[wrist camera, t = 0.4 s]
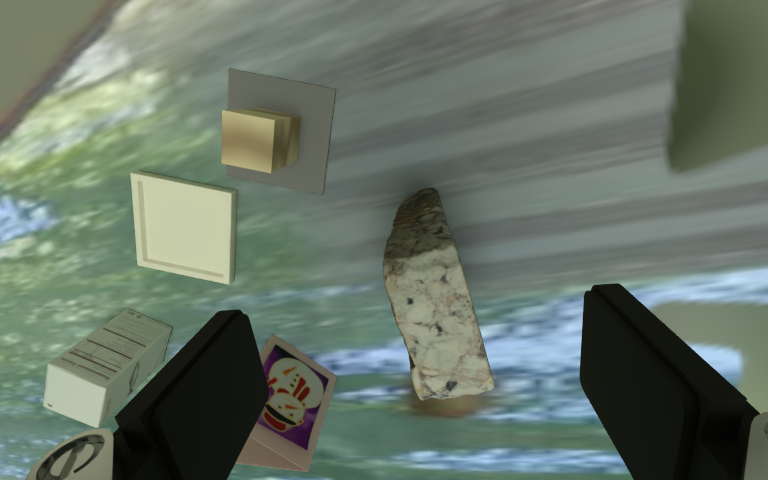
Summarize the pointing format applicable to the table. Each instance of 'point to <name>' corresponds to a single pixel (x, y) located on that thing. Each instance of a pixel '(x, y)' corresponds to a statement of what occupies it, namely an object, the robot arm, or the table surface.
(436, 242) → the stone block
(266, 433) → the greeting card
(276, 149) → the beech block
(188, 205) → the cream tray
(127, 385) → the supplement box
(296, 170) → the tile
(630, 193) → the table surface
